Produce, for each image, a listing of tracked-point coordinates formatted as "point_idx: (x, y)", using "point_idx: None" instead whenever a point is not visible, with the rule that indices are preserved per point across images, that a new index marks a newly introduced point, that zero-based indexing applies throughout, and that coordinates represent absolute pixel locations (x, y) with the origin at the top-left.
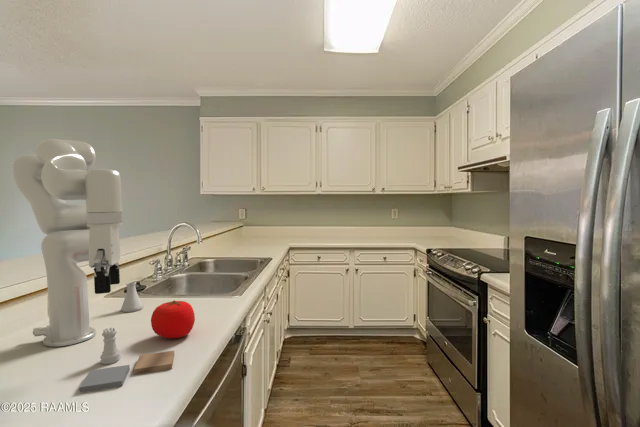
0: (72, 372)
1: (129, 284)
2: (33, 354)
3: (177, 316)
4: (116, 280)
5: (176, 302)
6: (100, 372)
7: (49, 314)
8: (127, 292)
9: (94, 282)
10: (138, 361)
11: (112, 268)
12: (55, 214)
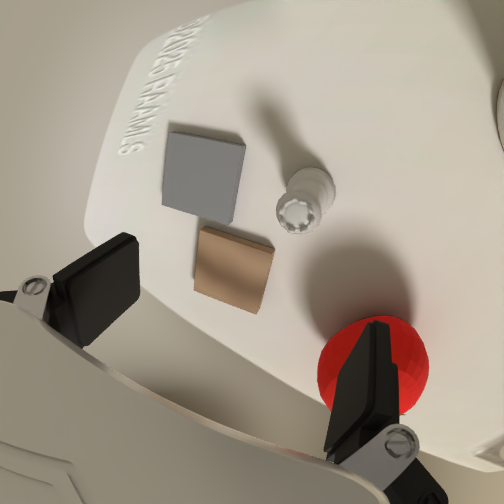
0: (290, 106)
1: None
2: (476, 34)
3: (319, 382)
4: (339, 381)
5: None
6: (217, 167)
7: None
8: None
9: (80, 259)
10: (235, 244)
11: (342, 448)
12: None
